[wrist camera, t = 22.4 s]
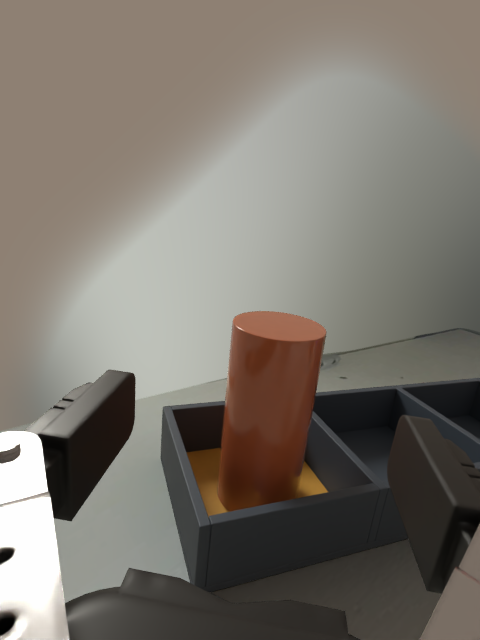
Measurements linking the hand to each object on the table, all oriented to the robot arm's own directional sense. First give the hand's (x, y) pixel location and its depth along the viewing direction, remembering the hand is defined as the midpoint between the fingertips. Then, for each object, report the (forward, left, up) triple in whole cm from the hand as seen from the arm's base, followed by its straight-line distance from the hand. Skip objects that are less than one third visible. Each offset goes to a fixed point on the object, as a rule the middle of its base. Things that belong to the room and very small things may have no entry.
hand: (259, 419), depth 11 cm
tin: (+5, +10, -12) cm, 17 cm away
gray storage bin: (+16, +10, -13) cm, 23 cm away
